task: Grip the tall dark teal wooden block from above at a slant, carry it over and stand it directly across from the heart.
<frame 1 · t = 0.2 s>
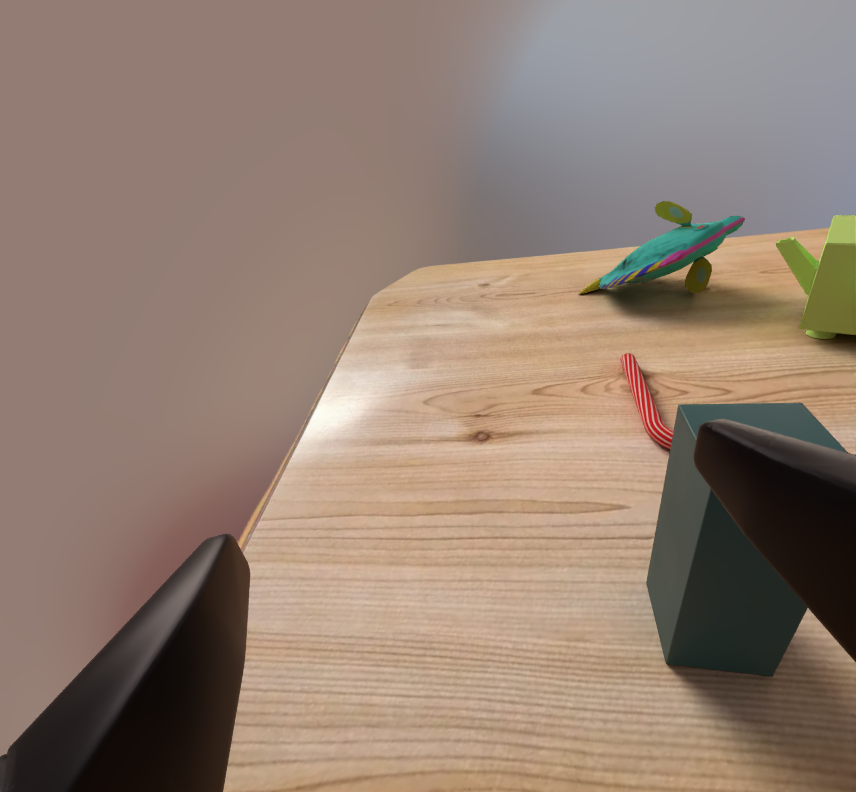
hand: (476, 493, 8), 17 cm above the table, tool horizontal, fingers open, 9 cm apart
decorative fish: (647, 295, 59), on the table
candy cane: (659, 404, 38), on the table
block: (702, 624, 22), on the table
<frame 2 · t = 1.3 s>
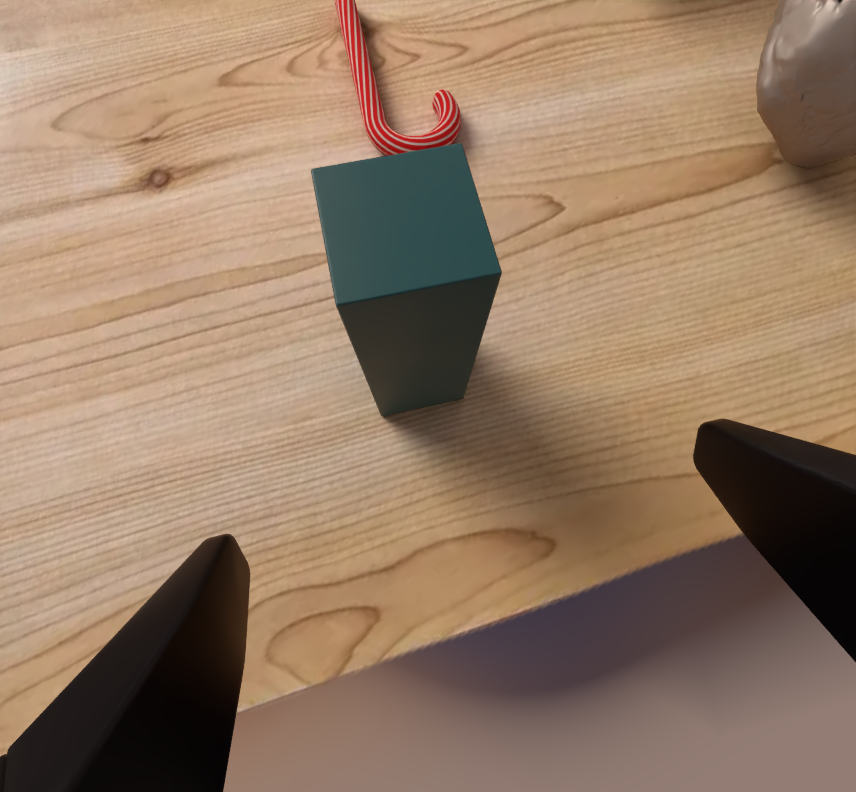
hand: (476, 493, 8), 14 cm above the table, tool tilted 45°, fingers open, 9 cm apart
heart: (772, 138, 28), on the table
candy cane: (386, 82, 29), on the table
block: (413, 368, 23), on the table
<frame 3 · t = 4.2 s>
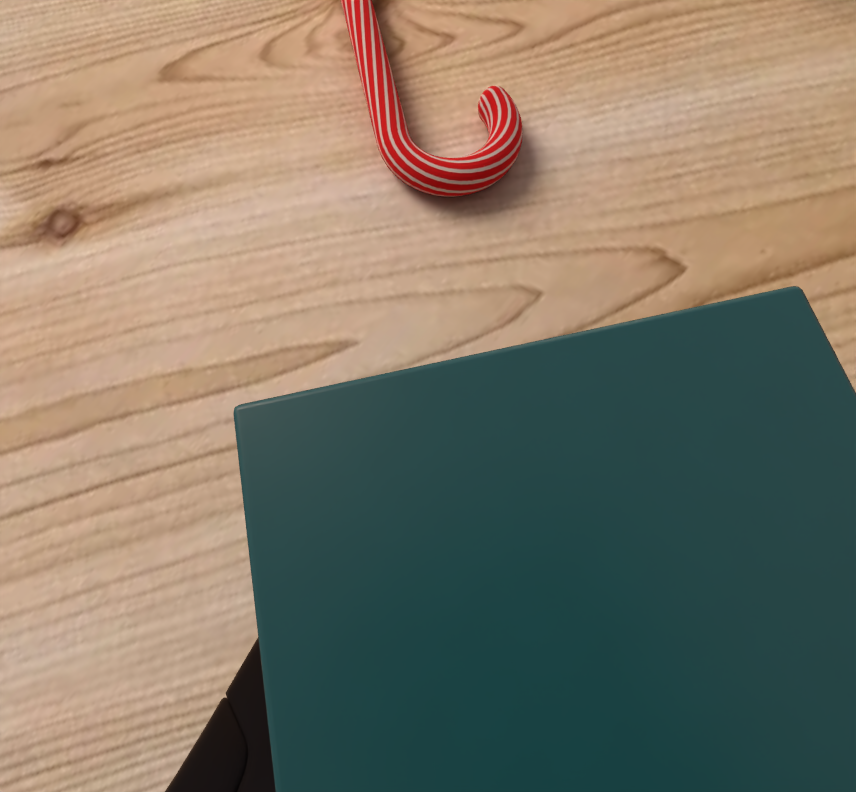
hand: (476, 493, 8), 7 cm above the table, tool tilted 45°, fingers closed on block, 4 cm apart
candy cane: (406, 75, 20), on the table
block: (463, 547, 14), on the table, touching gripper
when the fingers open (7 cm above the table, at t = 10.4 s): block stays where it is, on the table.
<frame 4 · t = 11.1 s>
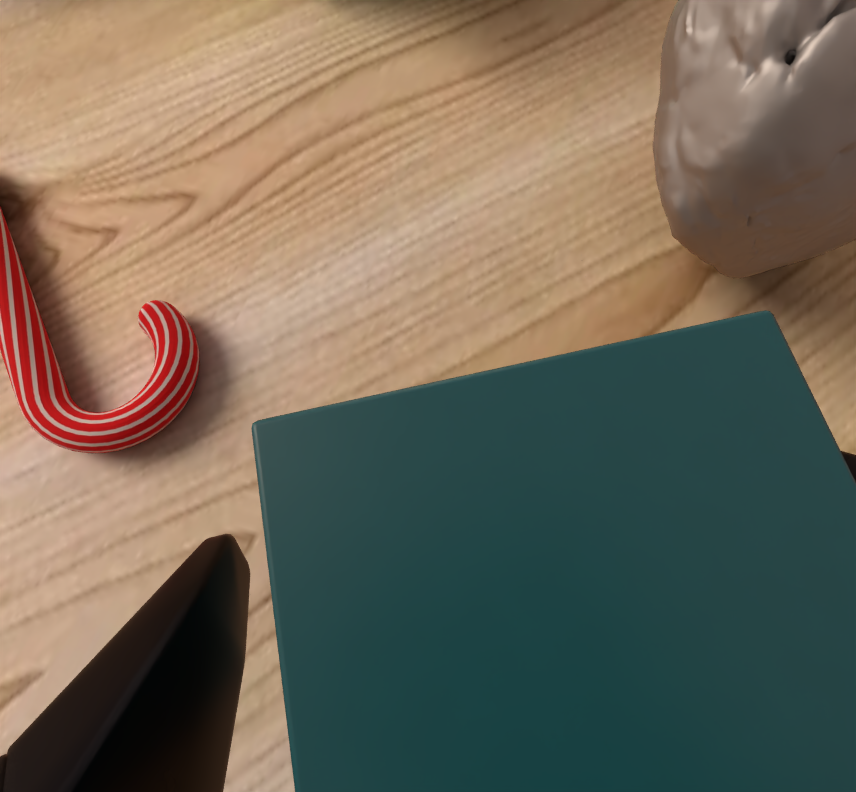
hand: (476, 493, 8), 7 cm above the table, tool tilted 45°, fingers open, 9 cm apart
heart: (693, 229, 18), on the table
candy cane: (68, 291, 17), on the table
block: (463, 549, 14), on the table
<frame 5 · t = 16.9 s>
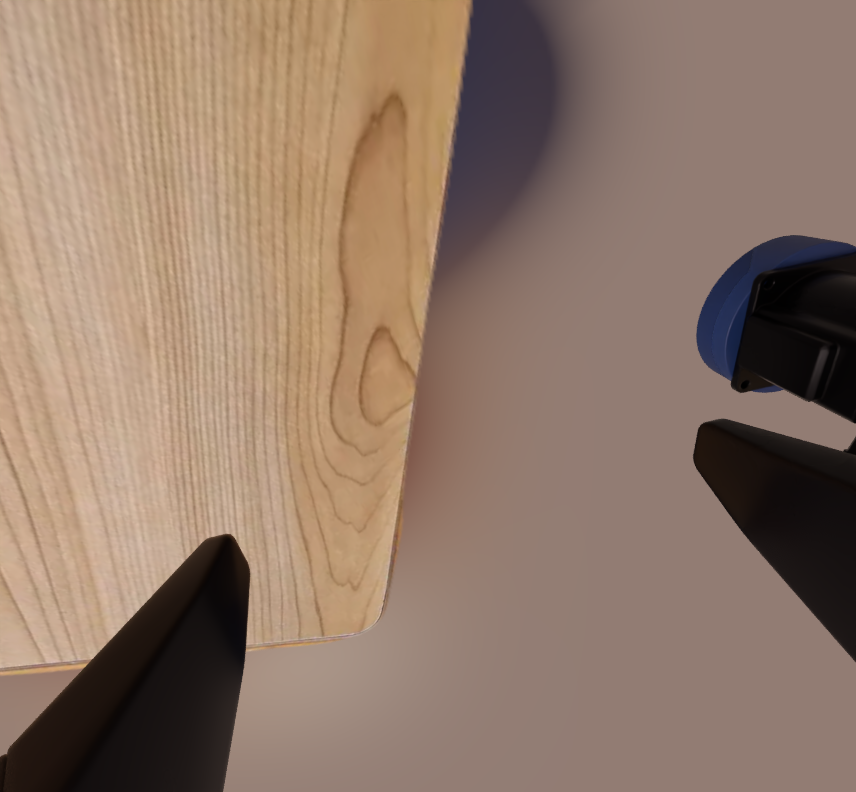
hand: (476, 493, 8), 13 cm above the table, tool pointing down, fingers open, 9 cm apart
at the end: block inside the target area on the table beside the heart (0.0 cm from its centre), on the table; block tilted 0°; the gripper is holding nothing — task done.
